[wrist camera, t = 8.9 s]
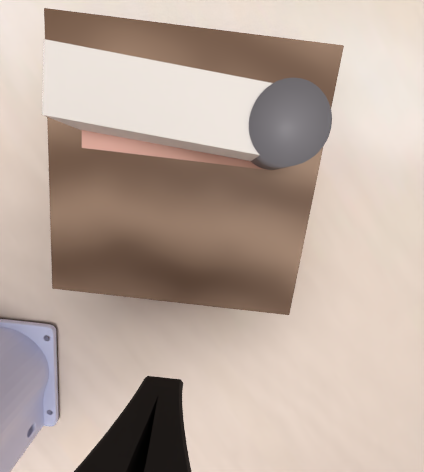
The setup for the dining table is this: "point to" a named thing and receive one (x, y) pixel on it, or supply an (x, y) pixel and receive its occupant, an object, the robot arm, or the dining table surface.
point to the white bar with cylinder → (185, 106)
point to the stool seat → (180, 182)
